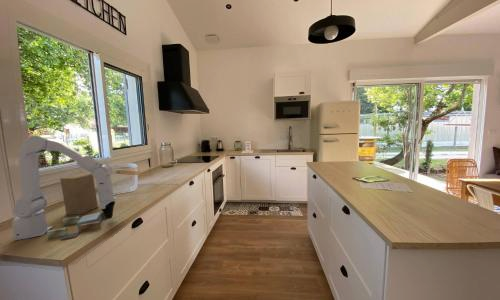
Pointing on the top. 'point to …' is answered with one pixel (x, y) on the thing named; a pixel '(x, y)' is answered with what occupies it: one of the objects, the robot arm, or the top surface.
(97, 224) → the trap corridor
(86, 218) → the slate block
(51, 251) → the top surface
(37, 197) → the robot arm
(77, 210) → the wooden block
